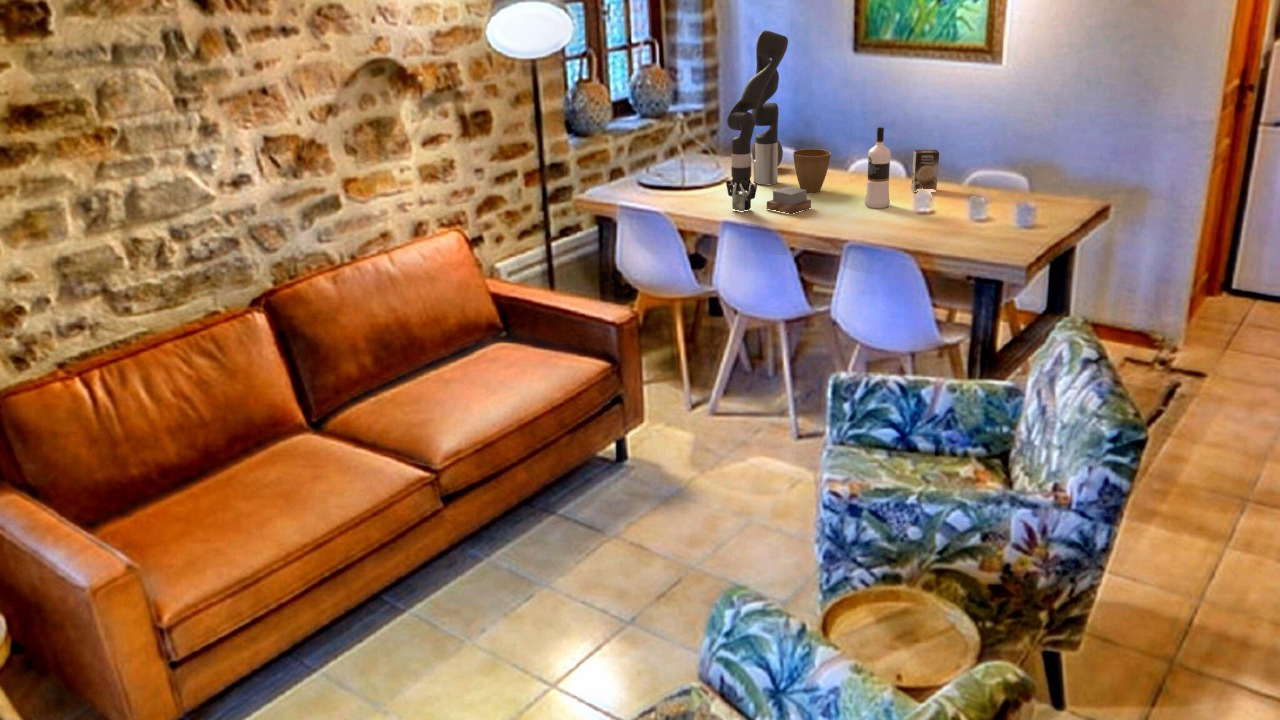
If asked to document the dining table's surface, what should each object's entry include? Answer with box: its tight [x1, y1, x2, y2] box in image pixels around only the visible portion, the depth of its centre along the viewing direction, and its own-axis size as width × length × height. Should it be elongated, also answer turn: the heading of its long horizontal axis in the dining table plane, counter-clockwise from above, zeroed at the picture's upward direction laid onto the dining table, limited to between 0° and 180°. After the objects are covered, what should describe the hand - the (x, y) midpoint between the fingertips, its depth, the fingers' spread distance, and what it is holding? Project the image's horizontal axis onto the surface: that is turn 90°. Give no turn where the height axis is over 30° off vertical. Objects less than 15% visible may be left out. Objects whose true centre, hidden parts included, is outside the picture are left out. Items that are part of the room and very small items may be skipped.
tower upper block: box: [772, 186, 808, 205], centre depth 407 cm, size 9×9×4 cm
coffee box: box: [910, 149, 940, 193], centre depth 423 cm, size 9×6×16 cm
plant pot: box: [792, 148, 832, 194], centre depth 430 cm, size 15×15×16 cm
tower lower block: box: [766, 198, 812, 214], centre depth 409 cm, size 12×12×4 cm
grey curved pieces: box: [751, 140, 784, 167], centre depth 469 cm, size 14×14×15 cm
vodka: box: [864, 126, 892, 210], centre depth 403 cm, size 9×9×30 cm
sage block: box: [731, 192, 752, 211], centre depth 410 cm, size 5×5×6 cm
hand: (741, 208), depth 411 cm, fingers closed on sage block, 5 cm apart
